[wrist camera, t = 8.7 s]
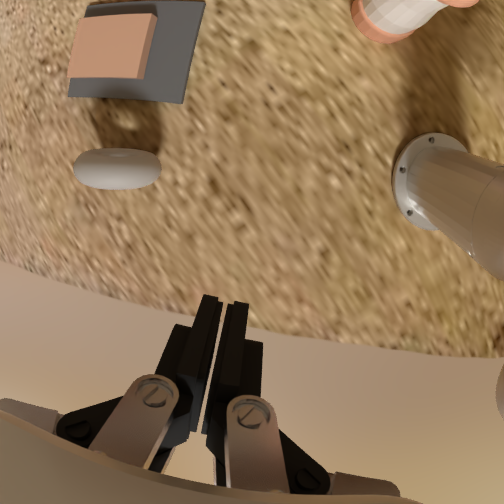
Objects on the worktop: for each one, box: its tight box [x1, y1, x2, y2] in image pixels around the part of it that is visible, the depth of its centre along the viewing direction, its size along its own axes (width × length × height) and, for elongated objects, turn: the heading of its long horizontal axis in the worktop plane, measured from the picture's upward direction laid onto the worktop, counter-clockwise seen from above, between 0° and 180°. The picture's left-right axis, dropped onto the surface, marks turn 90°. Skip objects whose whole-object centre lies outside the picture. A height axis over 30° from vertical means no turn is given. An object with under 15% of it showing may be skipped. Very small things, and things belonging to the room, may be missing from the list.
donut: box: [73, 148, 162, 190], centre depth 31 cm, size 10×4×10 cm, turn 80°
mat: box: [68, 1, 206, 104], centre depth 29 cm, size 16×13×1 cm
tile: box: [67, 13, 158, 79], centre depth 28 cm, size 2×8×10 cm
